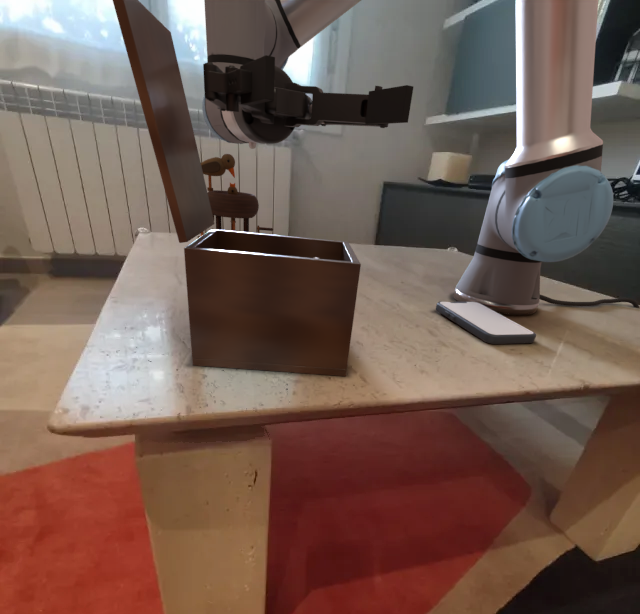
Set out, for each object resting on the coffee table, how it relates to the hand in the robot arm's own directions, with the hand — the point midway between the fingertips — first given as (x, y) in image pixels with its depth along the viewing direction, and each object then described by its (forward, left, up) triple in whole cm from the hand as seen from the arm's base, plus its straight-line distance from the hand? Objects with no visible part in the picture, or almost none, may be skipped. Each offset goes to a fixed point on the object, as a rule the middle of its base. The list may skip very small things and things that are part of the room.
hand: (344, 92), depth 36 cm
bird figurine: (+15, -39, -25) cm, 49 cm away
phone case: (-27, -19, -25) cm, 41 cm away
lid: (+15, -3, -4) cm, 16 cm away
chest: (+5, -3, -25) cm, 26 cm away
